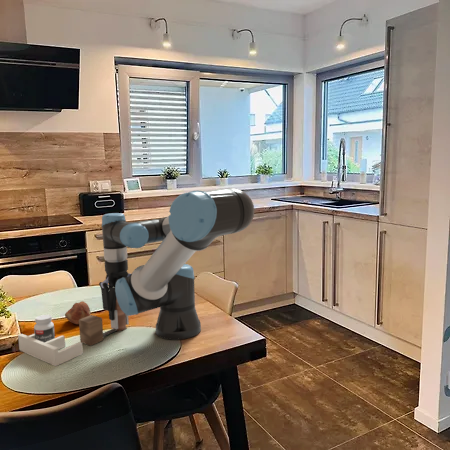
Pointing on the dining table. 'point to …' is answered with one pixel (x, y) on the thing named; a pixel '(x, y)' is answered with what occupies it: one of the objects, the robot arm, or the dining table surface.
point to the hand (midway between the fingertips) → (120, 325)
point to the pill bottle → (44, 328)
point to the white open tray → (49, 349)
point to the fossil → (78, 312)
